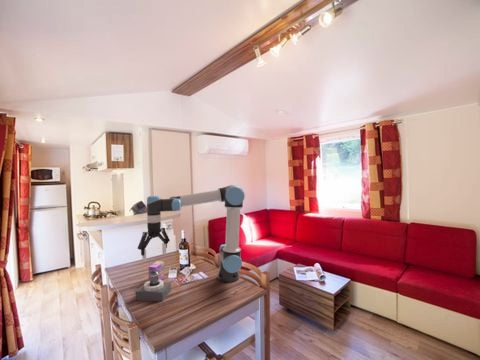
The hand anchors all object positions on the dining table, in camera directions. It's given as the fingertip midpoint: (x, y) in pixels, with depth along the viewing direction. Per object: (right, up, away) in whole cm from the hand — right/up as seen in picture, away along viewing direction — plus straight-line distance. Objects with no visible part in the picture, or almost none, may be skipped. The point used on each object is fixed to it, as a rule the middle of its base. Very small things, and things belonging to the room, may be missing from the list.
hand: (154, 257), depth 136 cm
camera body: (0, -23, 0) cm, 23 cm away
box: (-6, -23, +18) cm, 30 cm away
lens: (0, -18, 0) cm, 18 cm away
